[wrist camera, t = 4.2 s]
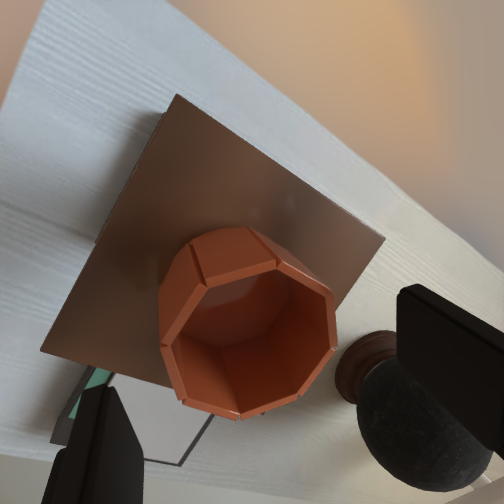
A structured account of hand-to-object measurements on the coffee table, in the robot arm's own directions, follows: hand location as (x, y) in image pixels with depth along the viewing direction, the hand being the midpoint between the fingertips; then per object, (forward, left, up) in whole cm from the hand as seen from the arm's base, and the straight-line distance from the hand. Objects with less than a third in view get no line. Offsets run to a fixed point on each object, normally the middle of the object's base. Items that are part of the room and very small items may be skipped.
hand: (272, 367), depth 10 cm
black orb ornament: (+18, -26, -22) cm, 38 cm away
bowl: (0, 0, -6) cm, 6 cm away
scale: (-9, -18, -22) cm, 30 cm away
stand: (0, 0, -22) cm, 22 cm away
